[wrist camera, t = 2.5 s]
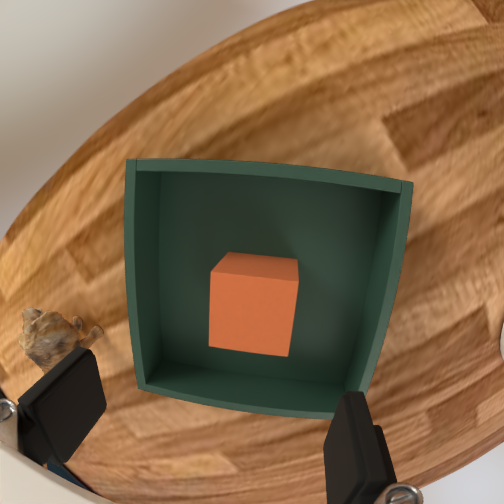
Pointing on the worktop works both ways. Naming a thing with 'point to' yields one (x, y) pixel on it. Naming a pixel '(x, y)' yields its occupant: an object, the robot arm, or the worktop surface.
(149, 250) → the crate
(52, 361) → the lion figurine
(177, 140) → the worktop surface
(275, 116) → the worktop surface
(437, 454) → the worktop surface
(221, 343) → the toy cube
